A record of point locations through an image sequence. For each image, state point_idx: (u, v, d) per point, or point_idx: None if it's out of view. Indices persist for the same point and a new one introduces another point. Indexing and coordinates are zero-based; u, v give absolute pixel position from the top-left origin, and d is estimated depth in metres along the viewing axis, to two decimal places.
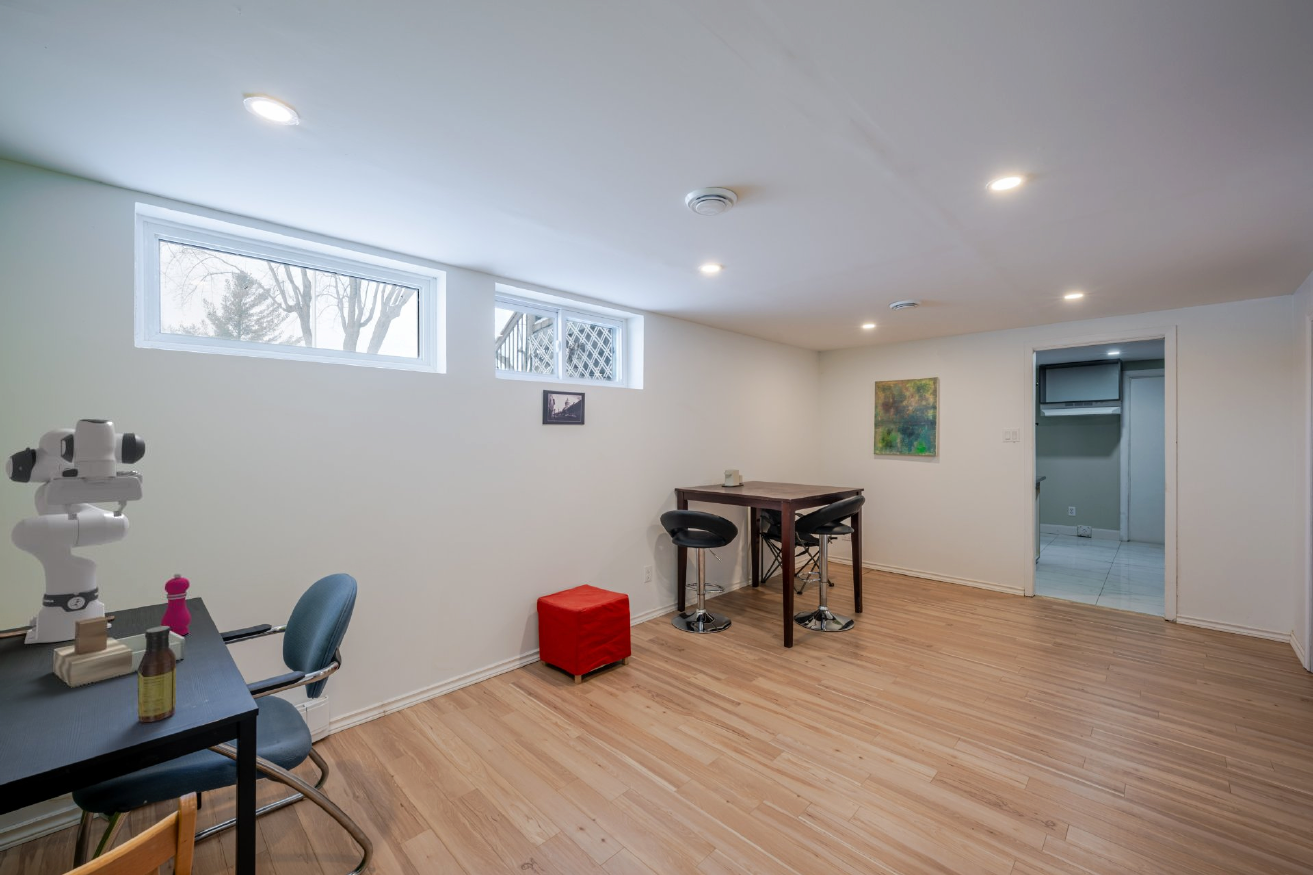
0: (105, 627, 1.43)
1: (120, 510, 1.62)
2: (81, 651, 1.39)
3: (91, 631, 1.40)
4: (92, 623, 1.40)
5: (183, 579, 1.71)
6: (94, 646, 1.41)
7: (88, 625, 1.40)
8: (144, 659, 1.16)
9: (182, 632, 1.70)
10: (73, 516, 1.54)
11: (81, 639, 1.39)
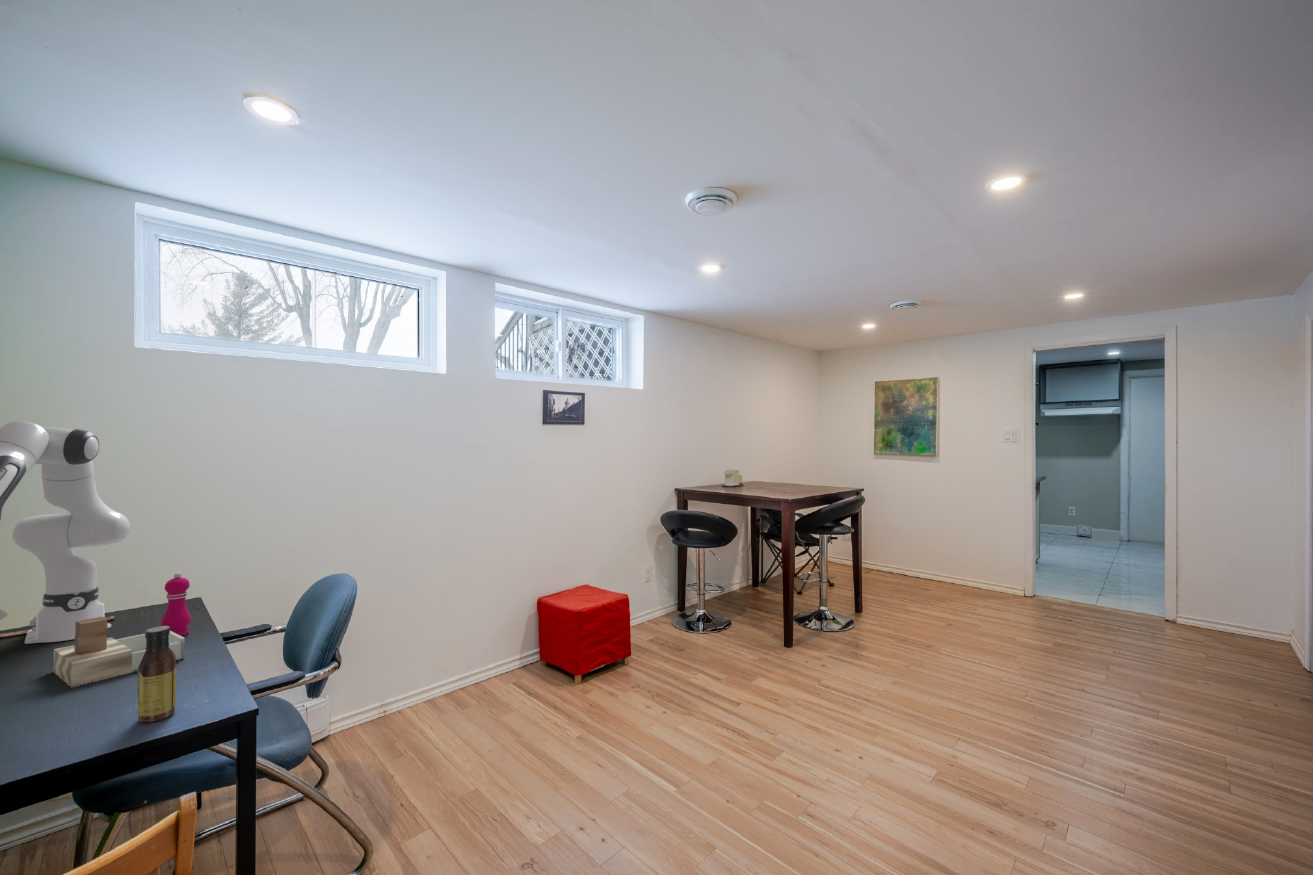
0: (105, 627, 1.43)
1: None
2: (81, 651, 1.39)
3: (91, 631, 1.40)
4: (92, 623, 1.40)
5: (183, 579, 1.71)
6: (94, 646, 1.41)
7: (88, 625, 1.40)
8: (144, 659, 1.16)
9: (182, 632, 1.70)
10: None
11: (81, 639, 1.39)
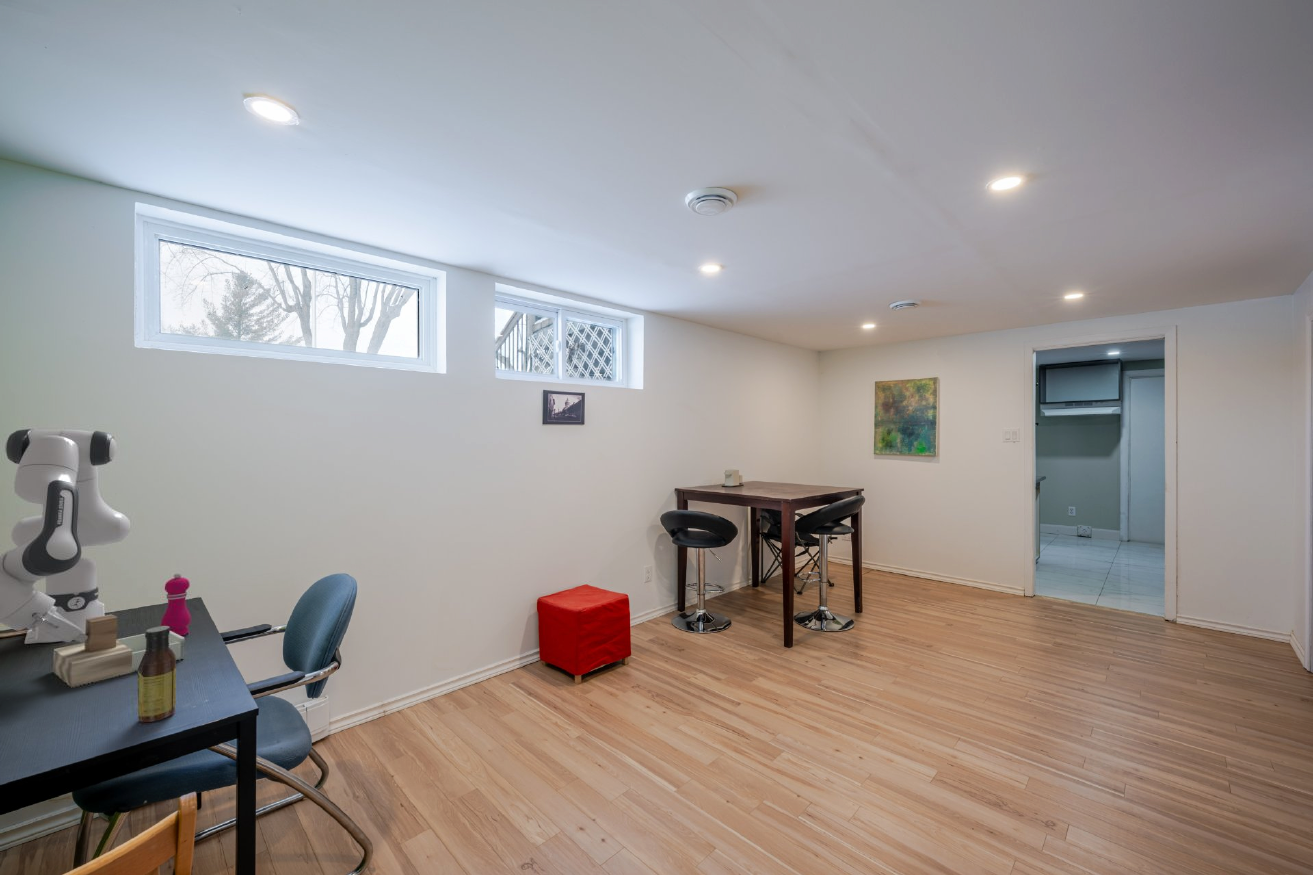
0: (115, 625, 1.44)
1: (75, 639, 1.39)
2: (91, 649, 1.40)
3: (101, 629, 1.42)
4: (102, 621, 1.42)
5: (183, 579, 1.71)
6: (104, 644, 1.42)
7: (98, 623, 1.41)
8: (144, 659, 1.16)
9: (182, 632, 1.70)
10: None
11: (91, 637, 1.40)
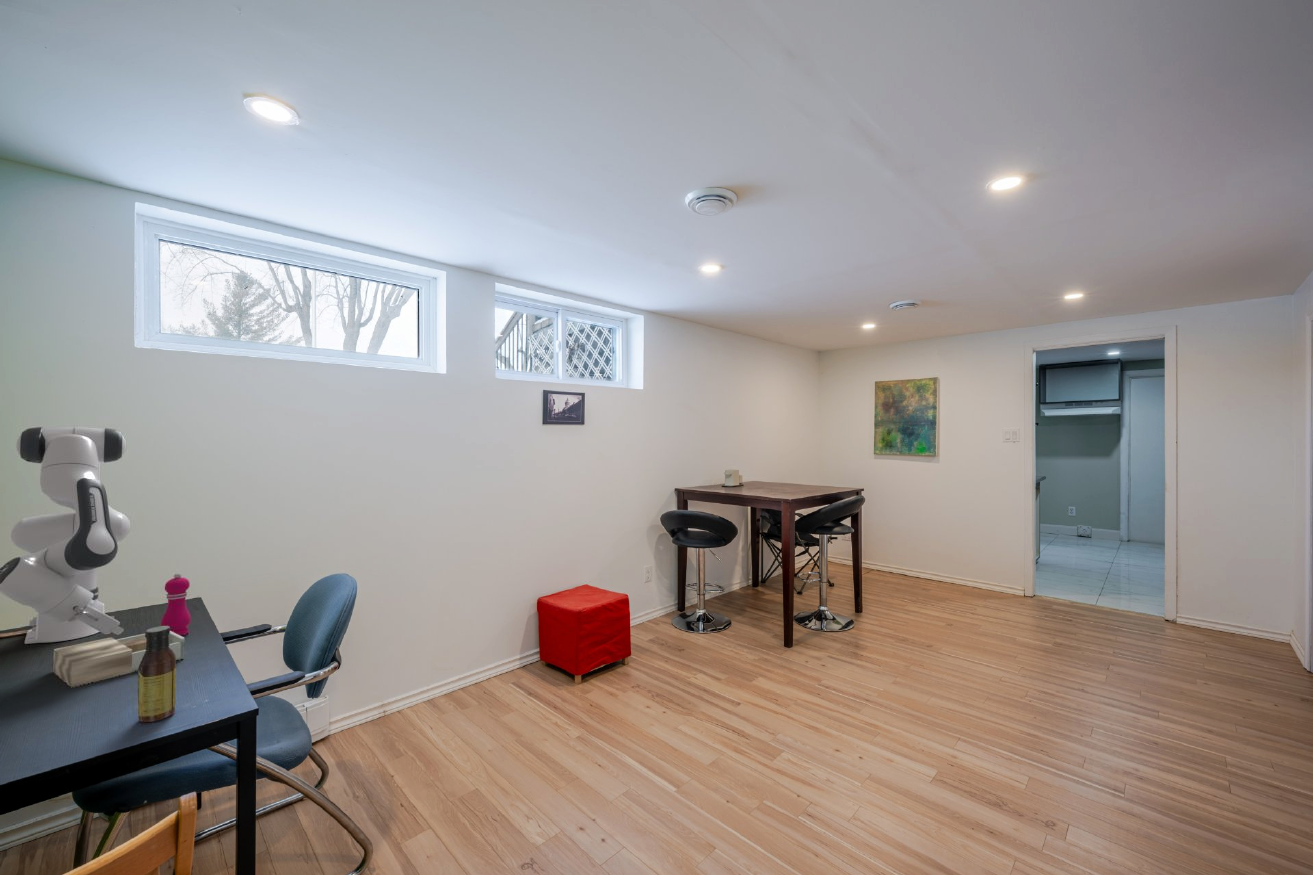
0: None
1: None
2: (130, 646, 1.47)
3: None
4: None
5: (183, 579, 1.71)
6: None
7: None
8: (144, 659, 1.16)
9: (182, 632, 1.70)
10: None
11: (145, 643, 1.49)
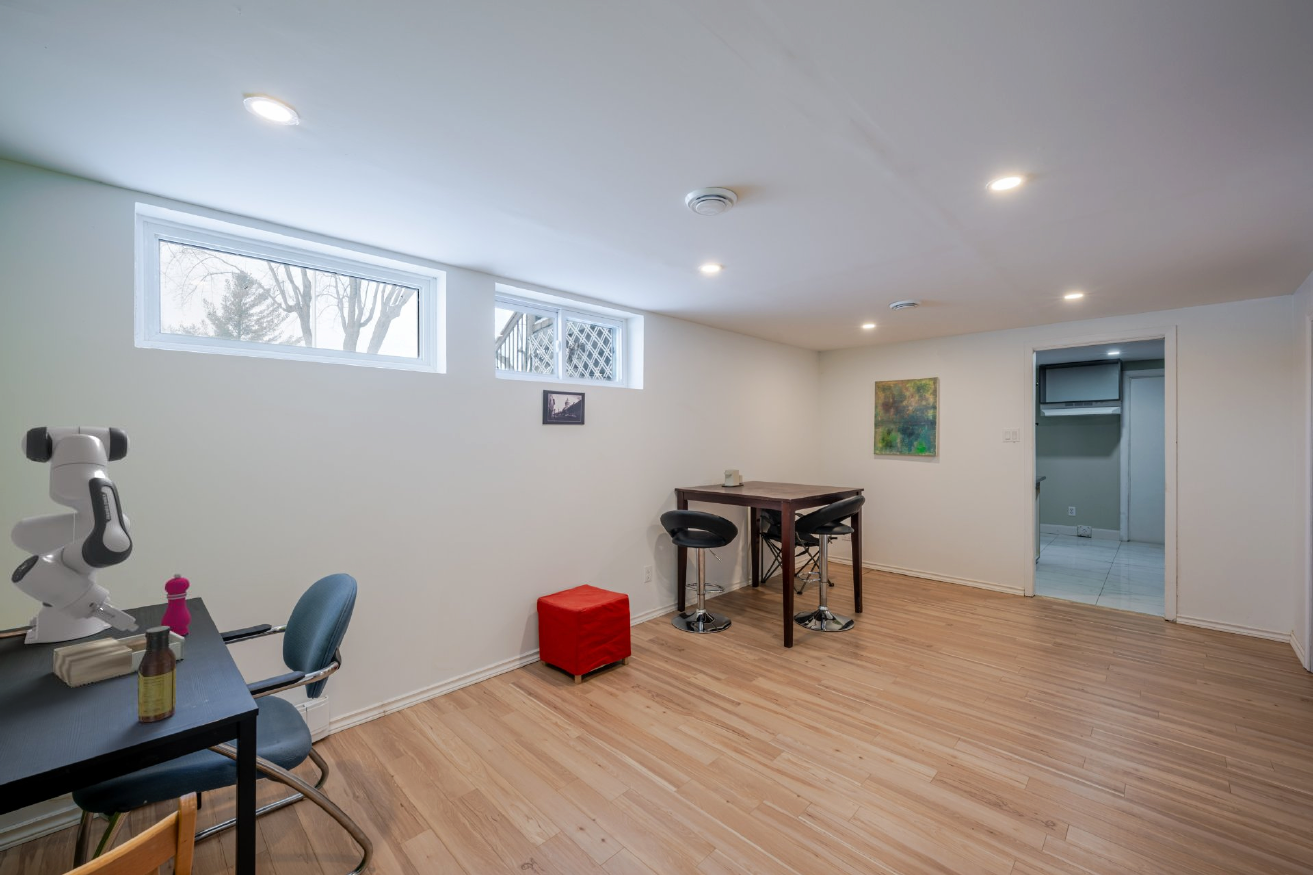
0: None
1: (126, 628, 1.47)
2: (130, 646, 1.47)
3: None
4: None
5: (183, 579, 1.71)
6: None
7: None
8: (144, 659, 1.16)
9: (182, 632, 1.70)
10: None
11: (145, 643, 1.49)
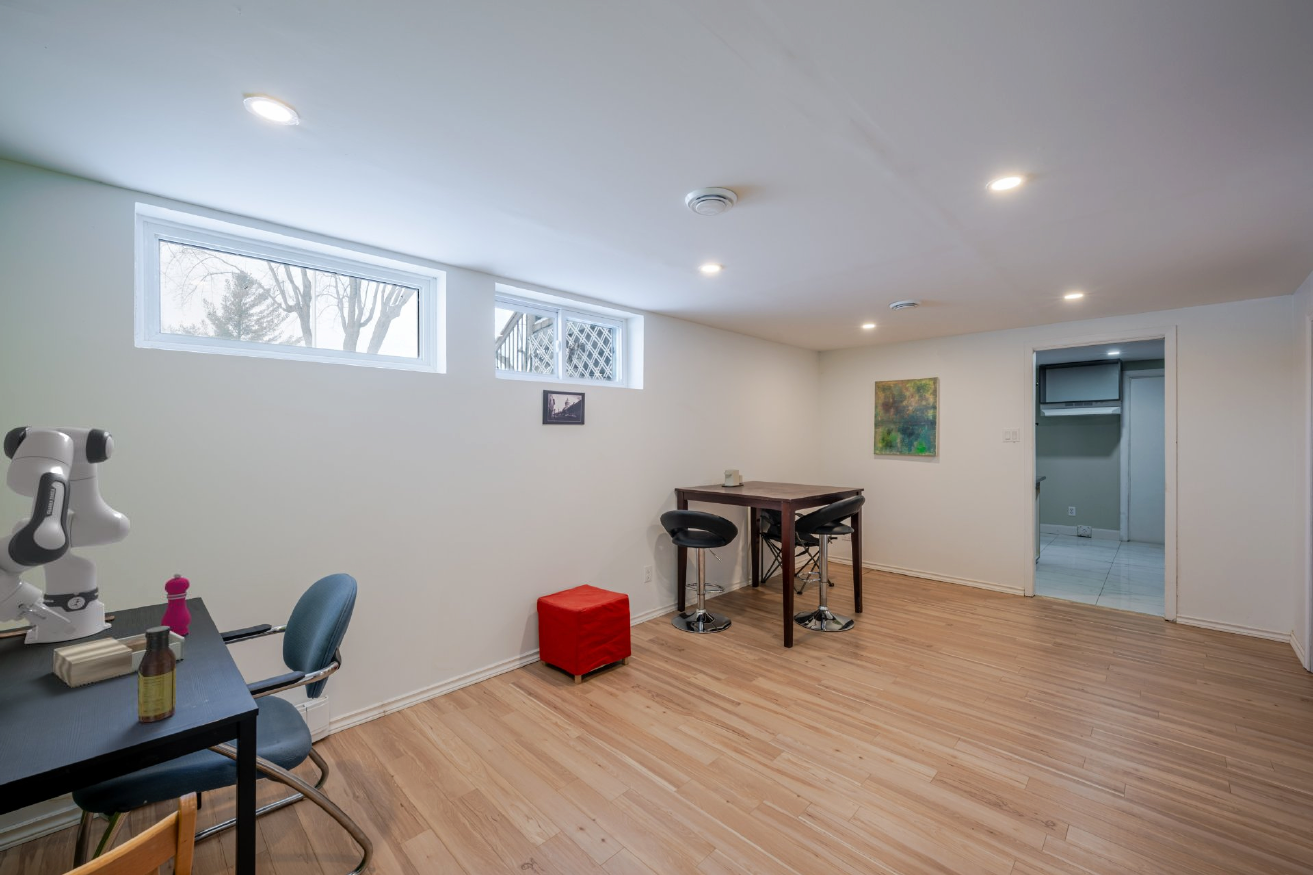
0: None
1: (62, 631, 1.37)
2: (130, 646, 1.47)
3: None
4: None
5: (183, 579, 1.71)
6: None
7: None
8: (144, 659, 1.16)
9: (182, 632, 1.70)
10: None
11: (145, 643, 1.49)
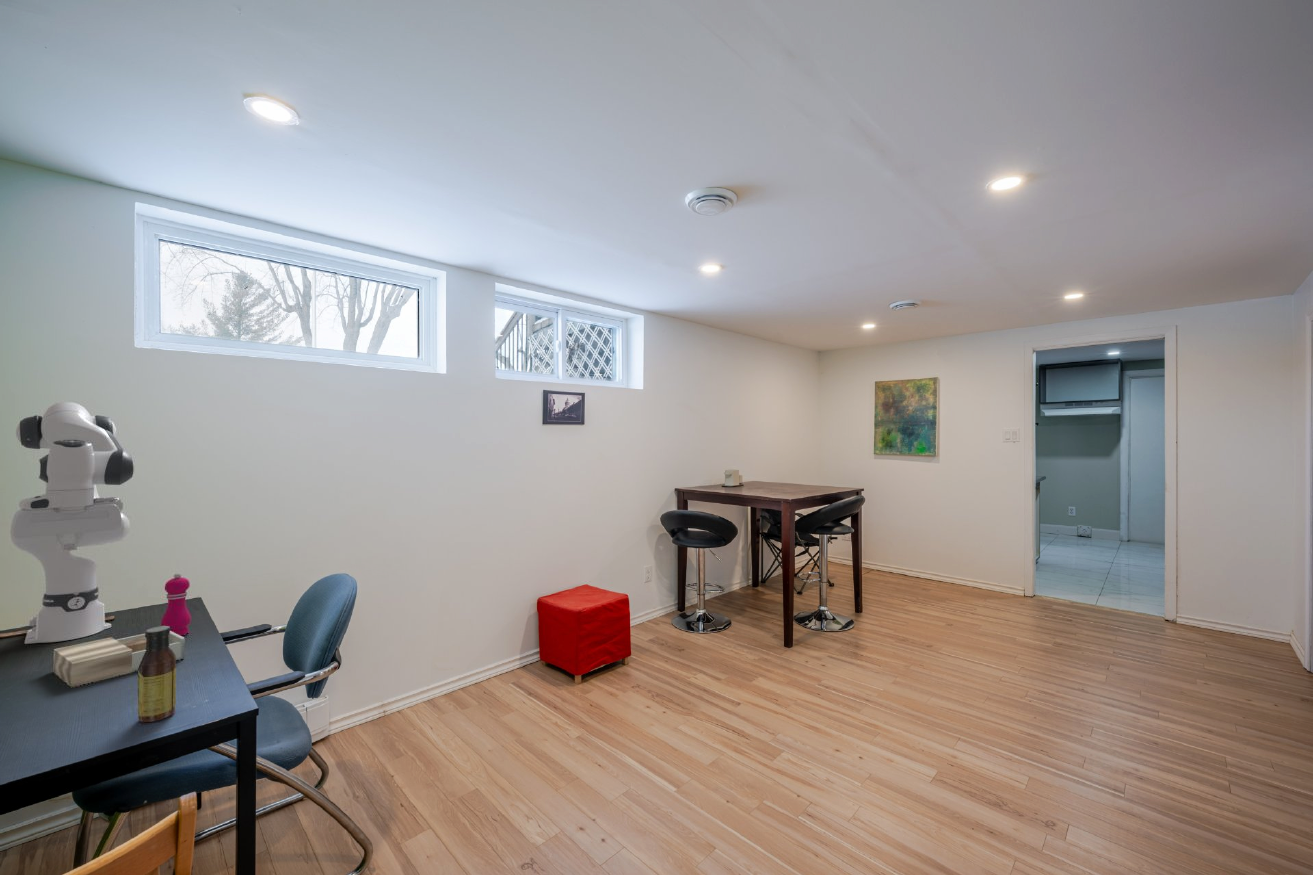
0: None
1: (75, 543, 1.45)
2: (130, 646, 1.47)
3: None
4: None
5: (183, 579, 1.71)
6: None
7: None
8: (144, 659, 1.16)
9: (182, 632, 1.70)
10: (65, 547, 1.43)
11: (145, 643, 1.49)
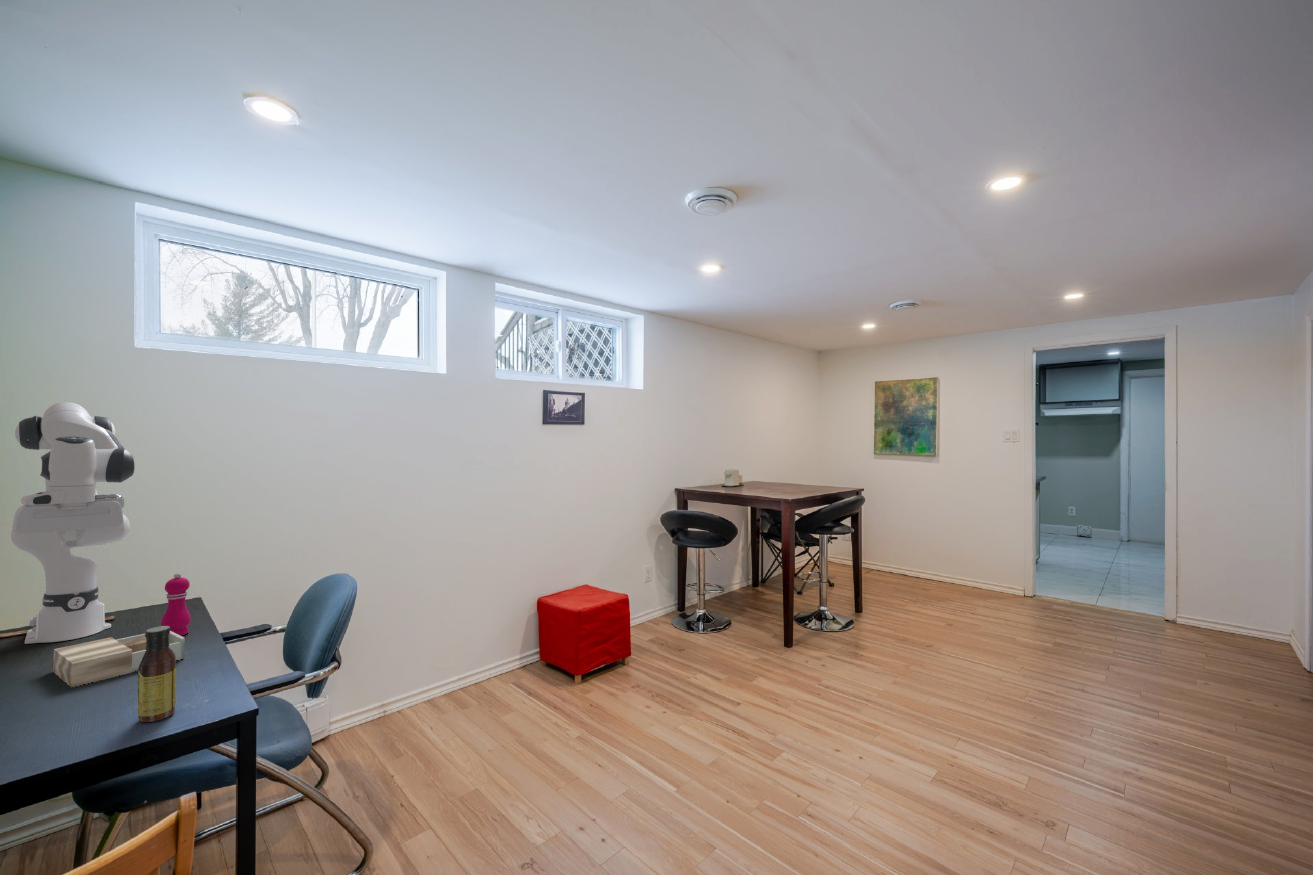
0: None
1: (77, 540, 1.45)
2: (130, 646, 1.47)
3: None
4: None
5: (183, 579, 1.71)
6: None
7: None
8: (144, 659, 1.16)
9: (182, 632, 1.70)
10: (67, 544, 1.43)
11: (145, 643, 1.49)
